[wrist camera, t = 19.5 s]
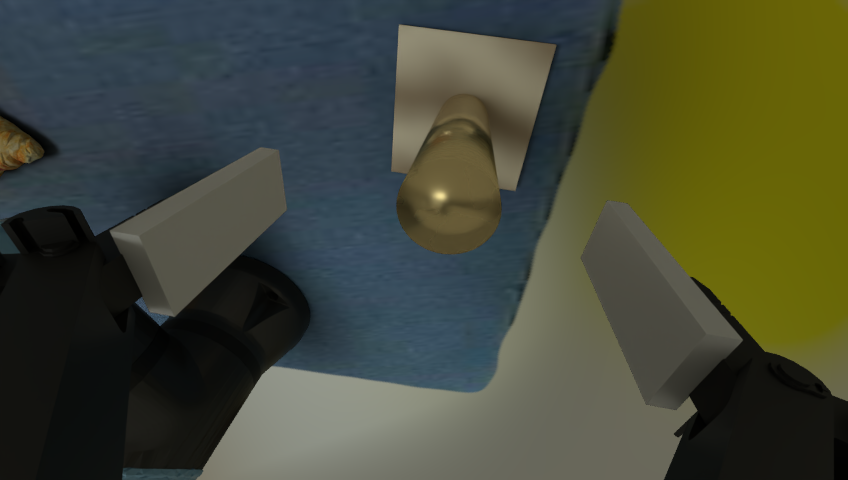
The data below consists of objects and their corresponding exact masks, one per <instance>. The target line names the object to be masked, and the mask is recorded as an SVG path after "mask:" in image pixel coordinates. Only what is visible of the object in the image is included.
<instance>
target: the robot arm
mask: <svg viewBox="0 0 848 480" xmlns="http://www.w3.org/2000/svg"><path fill="white" fill-rule="evenodd" d="M286 210H287V207H286V199H285V192H284V185H283V178H282V171H281V164H280V157H279V150H275V149H268V148H262V147H260V148H258V149H257V150H255V151H253V152H251V153H249V154H248V155H246V156H244V157H242V158H240V159H239V160H237V161H235V162H233V163H231V164H229V165H228V166H226V167H224V168H222V169H220V170H219V171H217V172H215V173H213V174H211V175H209V176H208V177H206V178H204V179H202V180H200V181H199V182H197V183H195V184H193V185H191V186H190V187H188V188H186V189H184V190H182V191H180V192H179V193H177V194H175V195H173V196H171V197H170V198H167V199H163V200H161V201H159V202H157V203H155V204H153V205H152V206H150V207H148V208H147V210H146V209H144V210H142V211H141V212H139V213H137V214H136V216H131V217H130V218H128V219H126V220H124V221H122V222H120V223H119V224H117V225H115V226H113V227H111V228H109V229H108V230H106V231H104V232H102V233H100V234H98V235H97V236H94V234H93V232H92V230H91V229H90V227H89V225H88V223H87V221H86V219H85V217H84V215H83V213H82V212H81V210H80V209H78V208H76V207H74V206H64V205H62V206H48V207H43V208H37V209H33V210H29V211H26V212H23V213H19V214H17V215H15V216H13V217H11V218H5V219H0V480H196V479H197V477H199V476H200V475H201V474H202V472H203V470H202V469H203V467H204V466H205V464H206V463H207V461H208V460H209V458H210V456H211V455H212V453H213V452H214V450H215V448H216V447H217V445H218V444H219V442H220V440H221V439H222V437H223V436H224V434H225V432H226V431H227V429H228V427H229V426H230V424H231V423H232V421H233V420H234V418H235V416H236V415H237V413H238V412H239V410H240V409H241V407H242V405H243V404H244V402H245V401H246V399H247V398H248V396H249V394H250V393H251V391H252V389H253V388H254V386H255V385H256V383H257V381H258V380H259V379H260V377H261V375H262V374H263V373H264V372H265V371H267V370H268V369H269V368H270V367H271V366H272V365H274V364H275V363H276V362H277V361H278V360H279V359H281V358H282V357H283V356H284V355H285V354H286V353H287V352H288V351H289V350H291V349H292V348H293V347H294V346H296V345H297V343H298V342H299V341H300V340H301V338H302V336H303V334H304V333H305V331H306V329H307V328H308V325H309V322H310V311H309V307H308V304H307V302H306V300H305V298H304V296H303V295H302V293H301V292H300V291H299V289H298V288H297V287H296V286H295V285H294V284H293V283H292V282H291V281H290V280H289V279H288V278H287V277H286V276H284V275H283V274H282V273H280V272H279V271H277V270H276V269H274V268H272V267H271V266H269V265H267V264H265V263H262V262H260V261H257V260H254V259H251V258H248V257H243V256H239V255H240V254H241V253H242V252H243V251H244V250H245V249H246V248H247V247H248V246H249V245H250V244H252V243H253V242H254V241H255V240H256V239H257V238H258V237H259V236H260V235H261V234H262V233H263V232H264V231H265V230H266V229H267V228H268V227H269V226H270V225H271V224H273V223H274V222H275V221H276V220H277V219H278V218H279V217H280V216H281V215H282V214H283V213H284V212H285V211H286ZM581 259H582V262H583V264H584V266H585V268H586V270H587V273H588V275H589V277H590V280H591V282H592V284H593V286H594V288H595V291H596V293H597V295H598V298H599V300H600V302H601V304H602V307H603V309H604V311H605V313H606V315H607V318H608V320H609V322H610V324H611V327H612V329H613V331H614V333H615V336H616V338H617V340H618V342H619V345H620V347H621V349H622V352H623V354H624V356H625V358H626V361H627V363H628V365H629V367H630V370H631V372H632V374H633V376H634V379H635V381H636V383H637V385H638V388H639V390H640V392H641V394H642V397H643V399H644V401H645V403H646V405H652V406H657V407H662V408H668V409H673V410H677V409H678V408H679V407H680V406H681V404H682V403H683V402H684V401H685V400H686V399H687V398H688V397H689V396H690V398H691V400H692V401H693V403H694V405H695V407H696V408H697V410H698V411H697V412H696V413H695V414H694V415H693V416H692V417H691V418H690V419H689V420H688V421H687V422H685V424H684V425H682V426H681V427H680V428H679V429H678V430H677V431H676V432H675V433H674V435H675V436H677V437H679V436H681V435H682V434H683V435H682V438H681V440H680V443H679V445H678V447H677V450H676V452H675V454H674V457H673V459H672V462H671V464H670V467H669V469H668V471H667V474H666V476H665V479H664V480H848V401H845V400H843V399H840V398H838V397H835V396H832V394H831V392H830V390H829V389H828V388H827V387H826V386H825V385H824V383H823V382H822V381H821V380H820V379H818V378H817V377H816V376H815V375H813V374H812V373H811V372H810V371H808V370H807V369H805V368H804V367H802V366H800V365H799V364H797V363H795V362H794V361H791V360H789V359H787V358H785V357H782V356H780V355H777V354H773V353H769V352H765V351H764V350H763V349H762V348H761V347H760V346H759V345H758V343H757V342H756V341H755V340H754V339H753V338H752V337H751V335H750V334H748V332H747V331H746V330H745V329H744V328H743V326H742V325H741V324H740V323H739V322H738V321H737V320H736V318H735V317H734V316H731V315H730V314H731V313H730V312H729V311H728V310H727V309H726V307H725V306H724V305H721V301H720V300H718V299H717V297H716V296H715V295H714V294H713V292H712V291H711V290H710V289H709V288H707V287H706V286H704V285H703V284H701V283H700V282H699V281H697V280H696V279H695V278H693V277H689V276H688V275H687V273H686V272H685V271H684V270H683V269H682V267H681V266H680V265H679V264H678V263H677V261H676V260H675V259H674V258H673V257H672V256H671V254H670V253H669V252H668V251H667V250H666V249H665V248H664V246H663V245H662V244H661V243H660V241H659V240H658V239H657V238H656V237H655V236H654V234H653V233H652V232H651V231H650V230H649V228H648V227H647V226H646V225H645V224H644V222H643V221H642V220H641V219H640V218H639V217H638V215H637V214H636V213H635V212H634V211H633V209H632V208H631V207H630V206H629V205H628V204H627V203H622V202H615V201H608V200H607V201H606V204H605V206H604V208H603V210H602V212H601V214H600V217H599V219H598V221H597V223H596V226H595V228H594V230H593V232H592V234H591V237H590V239H589V241H588V243H587V245H586V247H585V250H584V252H583V254H582V256H581ZM141 297H142V298H143V300H144V302H145V304H146V306H147V308H148V310H149V312H152V313H157V314H163V315H168V316H169V318H168V319H167V320H166V321H165V322H164V323H163V324H162V325H161V326H159V325H158V324H157V323H156V322H155V321H154V320H153V319H152V318H151V317H150V316H149V315H148V314H147V313H146V312H145V311H144V310H143V309H142V308H141V307H139V306H138V305H137V304H136V303H135V302H136V301H137V300H138V299H139V298H141Z"/></svg>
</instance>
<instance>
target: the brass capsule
mask: <svg viewBox="0 0 848 480" xmlns="http://www.w3.org/2000/svg"><path fill="white" fill-rule="evenodd" d="M396 206H397V214H398V218H399V221H400V224H401V226H402V228H403V229H404V231H405V232H406V234H407V235H408V236H409V237H410V238H411V239H412V240H413V241H414V242H415V243H417V244H418V245H420V246H421V247H423V248H425V249H427V250H430V251H433V252H436V253H441V254H460V253H464V252H468V251H471V250H473V249H475V248H477V247H479V246H481V245H482V244H483V243H485V242H486V241H487V240H488V239H489V238H490V237H491V236H492V234H493V233H494V232H495V230H496V228H497V226H498V224H499V221H500V217H501V210H502V209H501V198H500V191H499V185H498V178H497V171H496V165H495V158H494V151H493V145H492V138H491V131H490V124H489V118H488V112H487V109H486V107H485V105H484V104H483V103H482V101H481V100H479V99H478V98H477V97H475V96H473V95H470V94H458V95H455V96H452V97H451V98H449V99H448V100H447V101H446V102H445V103H444V104H443V105H442V107H441V108H440V110H439V112H438V114H437V116H436V118H435V120H434V122H433V124H432V126H431V128H430V130H429V132H428V134H427V136H426V138H425V140H424V142H423V144H422V146H421V148H420V150H419V152H418V154H417V156H416V158H415V160H414V162H413V164H412V166H411V168H410V170H409V172H408V174H407V176H406V178H405V180H404V182H403V183H402V185H401V187H400V190H399V193H398V197H397V205H396Z"/></svg>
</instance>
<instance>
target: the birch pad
mask: <svg viewBox="0 0 848 480" xmlns="http://www.w3.org/2000/svg"><path fill="white" fill-rule="evenodd" d="M555 49H556V45H555V44H549V43H541V42H533V41H526V40H518V39H510V38H502V37H494V36H486V35H479V34H471V33H463V32H455V31H447V30H439V29H432V28H424V27H416V26H408V25H399V34H398V54H397V73H396V93H395V112H394V131H393V151H392V170H391V171H393V172H399V173H406V174H408V172H409V170H410V168H411V166H412V164H413V162H414V160H415V158H416V156H417V154H418V152H419V150H420V148H421V146H422V144H423V142H424V140H425V138H426V136H427V134H428V132H429V130H430V128H431V126H432V124H433V122H434V120H435V118H436V116H437V114H438V112H439V110H440V108H441V107H442V105H443V104H444V103H445V102H446V101H447V100H448V99H449V98H451V97H452V96H455V95H458V94H470V95H473V96H475V97H477V98H478V99H479V100H481V101H482V103H483V104H484V105H485V107H486V109H487V112H488V118H489V124H490V131H491V138H492V145H493V151H494V158H495V165H496V171H497V178H498V185H499V188H500V189H506V190H512V191H515V190H516V186H517V183H518V179H519V176H520V172H521V169H522V165H523V162H524V158H525V155H526V151H527V147H528V144H529V140H530V137H531V133H532V130H533V126H534V123H535V119H536V116H537V112H538V109H539V105H540V102H541V98H542V94H543V91H544V87H545V84H546V80H547V77H548V73H549V70H550V66H551V63H552V59H553V56H554V52H555Z"/></svg>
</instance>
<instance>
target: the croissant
mask: <svg viewBox="0 0 848 480" xmlns="http://www.w3.org/2000/svg"><path fill="white" fill-rule="evenodd" d="M43 154H44V150H43V148H42V147H41V145H40V144H39V143H38V142H37V141H35V140H34V139H33V138H32V137H31V136H30V135H28V134H26V133H25V132H23V131H22V130H21V129H19V128H18V127H17V126H16V125H14V124H13V123H11V122H9V121H8V120H6V119H4V118H3V117H1V116H0V176H1V175H2V174H3V173H4V172H3V171H5V170H13V169H17V168H19V167H20V166H21V165H22V164H23V163H31V162H33V161H35V160H37V159H40V158H41V157H42V156H44V155H43Z"/></svg>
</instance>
